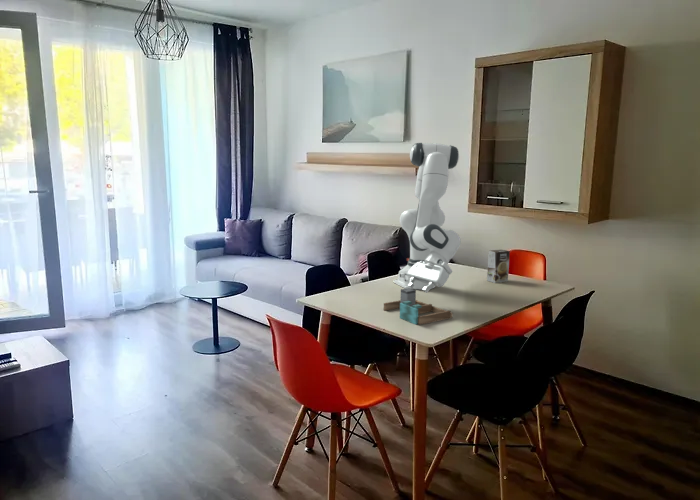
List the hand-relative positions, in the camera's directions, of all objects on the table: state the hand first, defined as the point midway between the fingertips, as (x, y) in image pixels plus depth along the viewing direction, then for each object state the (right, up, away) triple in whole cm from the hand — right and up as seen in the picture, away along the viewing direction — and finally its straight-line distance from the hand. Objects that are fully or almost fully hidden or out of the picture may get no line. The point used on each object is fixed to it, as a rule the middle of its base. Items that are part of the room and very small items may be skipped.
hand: (416, 289), depth 217 cm
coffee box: (+49, 0, +54) cm, 73 cm away
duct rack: (-1, -10, -5) cm, 11 cm away
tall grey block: (-4, -9, 0) cm, 10 cm away
